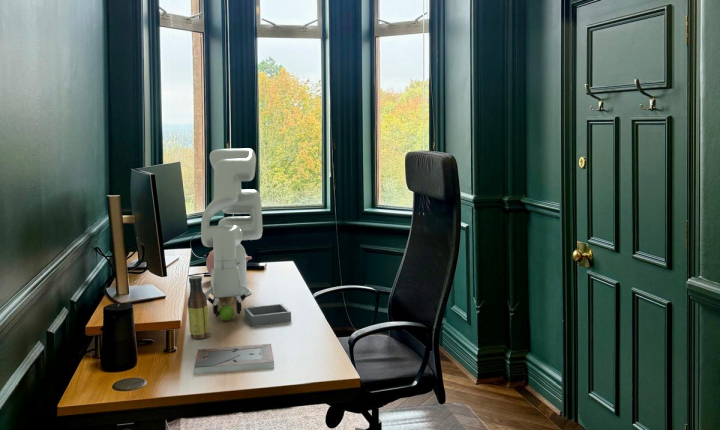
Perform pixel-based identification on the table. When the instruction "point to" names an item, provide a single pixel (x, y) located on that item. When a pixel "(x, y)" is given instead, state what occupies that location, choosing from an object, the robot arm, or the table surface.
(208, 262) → the balloon
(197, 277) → the sauce bottle
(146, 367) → the table surface
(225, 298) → the snail figurine
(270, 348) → the picture frame
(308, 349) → the table surface
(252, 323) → the bin
